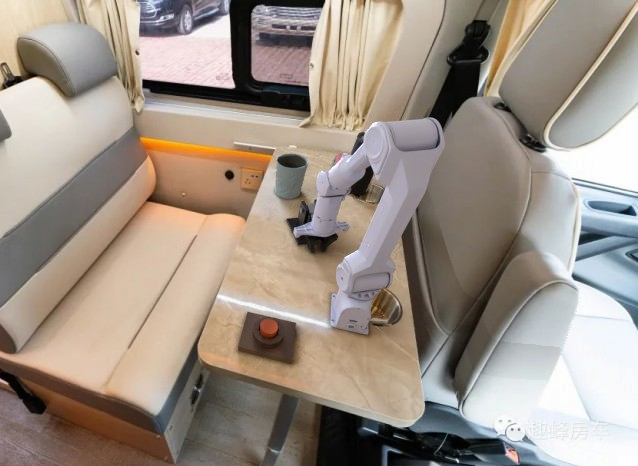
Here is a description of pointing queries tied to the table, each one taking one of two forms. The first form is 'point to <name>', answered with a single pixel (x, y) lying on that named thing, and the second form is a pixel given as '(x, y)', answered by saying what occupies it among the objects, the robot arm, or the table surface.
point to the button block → (263, 346)
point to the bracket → (300, 221)
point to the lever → (311, 213)
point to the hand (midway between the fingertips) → (315, 251)
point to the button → (268, 328)
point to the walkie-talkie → (339, 157)
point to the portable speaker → (364, 182)
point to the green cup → (290, 175)
